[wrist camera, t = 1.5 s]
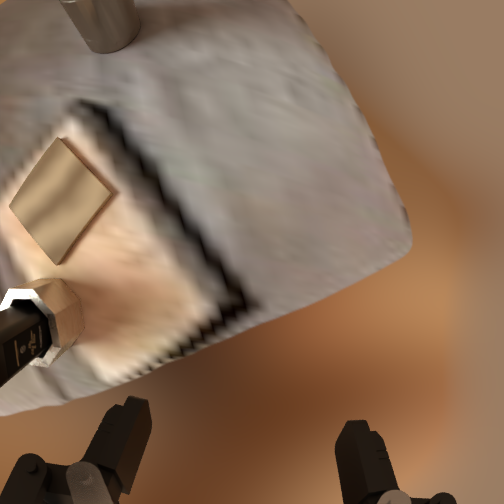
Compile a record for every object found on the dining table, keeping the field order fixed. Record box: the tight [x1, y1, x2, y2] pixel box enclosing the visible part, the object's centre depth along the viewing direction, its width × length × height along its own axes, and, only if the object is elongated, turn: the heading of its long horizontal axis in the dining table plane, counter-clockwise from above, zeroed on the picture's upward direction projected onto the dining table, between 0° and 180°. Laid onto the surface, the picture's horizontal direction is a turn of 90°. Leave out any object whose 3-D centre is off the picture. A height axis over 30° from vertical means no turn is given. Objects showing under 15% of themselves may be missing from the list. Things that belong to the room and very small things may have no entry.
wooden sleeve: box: [0, 279, 85, 367], centre depth 32 cm, size 10×10×8 cm
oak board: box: [9, 137, 113, 266], centre depth 34 cm, size 13×13×1 cm
